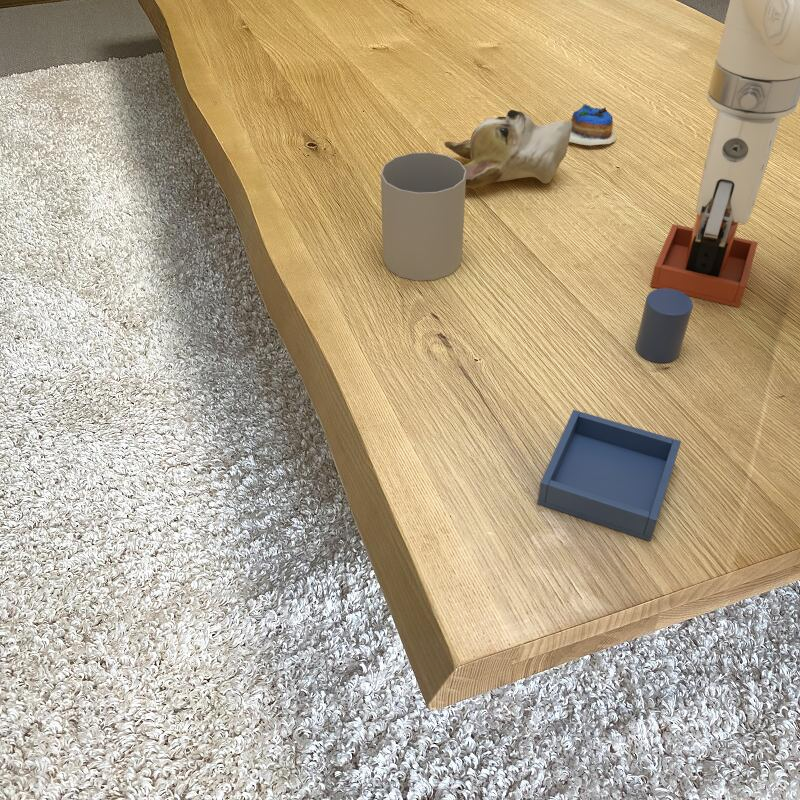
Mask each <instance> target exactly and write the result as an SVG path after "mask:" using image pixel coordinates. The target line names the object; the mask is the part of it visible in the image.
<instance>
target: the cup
mask: <svg viewBox="0 0 800 800" xmlns="http://www.w3.org/2000/svg"><path fill="white" fill-rule="evenodd" d="M463 165H464V164H462V162H461V161H459V160H457V159H455V158H453V157H451V156H449V155H447V154H441V153H437V152H436V153H435V152H430V151H426V152H410V153H406V154H402V155H398V156H394V158H391V159H390V160H388V161H387V162H386V163H384V164H383V166H382V169H381V172H380V197H381V233H382V235H381V239H382V261H383V263H384V264H385V267H386V269H387V270H388V271H390V273H393V274H394V275H396V276H398V277H400V278H403V279H407V280H410V281H411V280H412V281H416V282H422V281H423V282H424V281H436V280H439V279H443V278H446V277H448V276H450V275H452V274H454V273H455V272H456V271H457V270H458V269H459V268H461V264H462V260H463V248H464V247H463V245H464V226H465V205H466V188H467V187H466V169H465V168H464V167H463Z"/></svg>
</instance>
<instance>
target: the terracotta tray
mask: <svg viewBox="0 0 800 800" xmlns="http://www.w3.org/2000/svg"><path fill="white" fill-rule="evenodd" d="M692 231H693V227H689V226H684V225H679V224H675V223H673V224H672V225H671V227H670V230H669V232H668V234H667V237H666V238H665V241H664V244H663V246H662V248H661V250H660V252H659V254H658V257H657V260H656V263H655V265H654V268H653V272H652V273H653V274H652V276H651V281H650V285H649V286H650V287H651V288H654V289H663V288H666V289H674V290H678V291H680V292H683V293H684V294H686V295H687V296H688V297H694V298H697V299H701V300H704V301H709V302H714V303H718V304H721V305H725V306H730V307H735V308H739V307H740V305H741V302H742V299H743V296H744V292H745V290H746V286H747V283H748V279H749V276H750V272H751V269H752V265H753V262H754V259H755V254H756V251H757V247H758V245H759V242H758V241H756V240H755V241H754V240H750V239H745V238H741V237H737V236H735V238H734V241H733V244H732V248H731V251H730V254H729V258H728V261H727V264H726V268H725V270H724V271H723V272H721V273H720V274H719V277H714V276H710V275H705V274H701V273H697V272H692V271H688V270H686V264H685V258H686V254H687V251H688V247H689V243H690V239H691V235H692Z"/></svg>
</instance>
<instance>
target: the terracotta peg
mask: <svg viewBox="0 0 800 800" xmlns="http://www.w3.org/2000/svg"><path fill="white" fill-rule="evenodd" d="M709 209H712V206H709ZM725 212H726V213H730V212H731V210H729V209H726V211H725ZM701 218H702V214H701V216H699V215H698V214H697V213H696V216H695V220H694V224H693V227H692V228H693V231H692V235H691V239H690V243H689V247H688V251H687V254H686V258H685V264H686V266H687V262H688V259H689V255H690V251H691V247H692V243H693V239H694V237H695V236H697V233H698V229H699V225H700V222H701ZM707 222H708V219H707ZM725 223H726V222H722V224H721V228H723V230H724V226H725ZM706 225H707V223H706ZM739 225H740V223H737V222H734V220H733V221H732V223H731V227H730V230H729V233H728V237H727V240H726V243H728V247H727V250H726V253H725V257H724V260H723V264H722V267H721V270H720V273H721V272H723V271H724V270H725V268H726V264H727V261H728V258H729V254H730V251H731V248H732V244H733V241H734V238H735V237H736V234H737V231H738V228H739Z"/></svg>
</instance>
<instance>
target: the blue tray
mask: <svg viewBox="0 0 800 800" xmlns="http://www.w3.org/2000/svg"><path fill="white" fill-rule="evenodd" d="M681 444H682V441H681V440H679V439H676V438H672V437H670V436H666V435H662V434H658V433H656V432H651V431H648V430H645V429H642V428H638V427H634V426H632V425H629V424H628V425H627V424H624V423H621V422H618V421H614V420H611V419H606V418H604V417H601V416H597V415H594V414H590V413H587V412H584V411H580V410H577V409H573V410H572V412H571V414H570V416H569V418H568V421H567V422H566V425H565V427H564V429H563V432H562V434H561V435H560V438H559V441H558V443H557V445H556V447H555V450H554V451H553V454H552V455H551V458H550V460H549V463H548V464H547V467H546V469H545V471H544V473H543V476H542V478H541V480H540V483H539V484H540V485H539V489H538V496H537V500H536V501H537V502H536V503H537V505H539V506H543V507H545V508H549V509H551V510H554V511H557V512H560V513H564V514H565V515H569V516H573V517H576V518H578V519H581V520H585V521H588V522H591V523H593V524H597V525H600V526H603V527H605V528H609V529H612V530H613V531H617V532H621V533H624V534H627V535H630V536H631V537H632V536H633V537H635V538H637V539H638V538H639V539H642V540H644V541H648V542H651V541H652V538H653V535H654V533H655V532H654V531H655V529H656V525H657V522H658V519H659V515H660V512H661V509H662V506H663V503H664V499H665V496H666V493H667V489H668V485H669V483H670V479H671V477H672V473H673V470H674V466H675V463H676V459H677V456H678V453H679V451H680V447H681Z"/></svg>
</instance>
